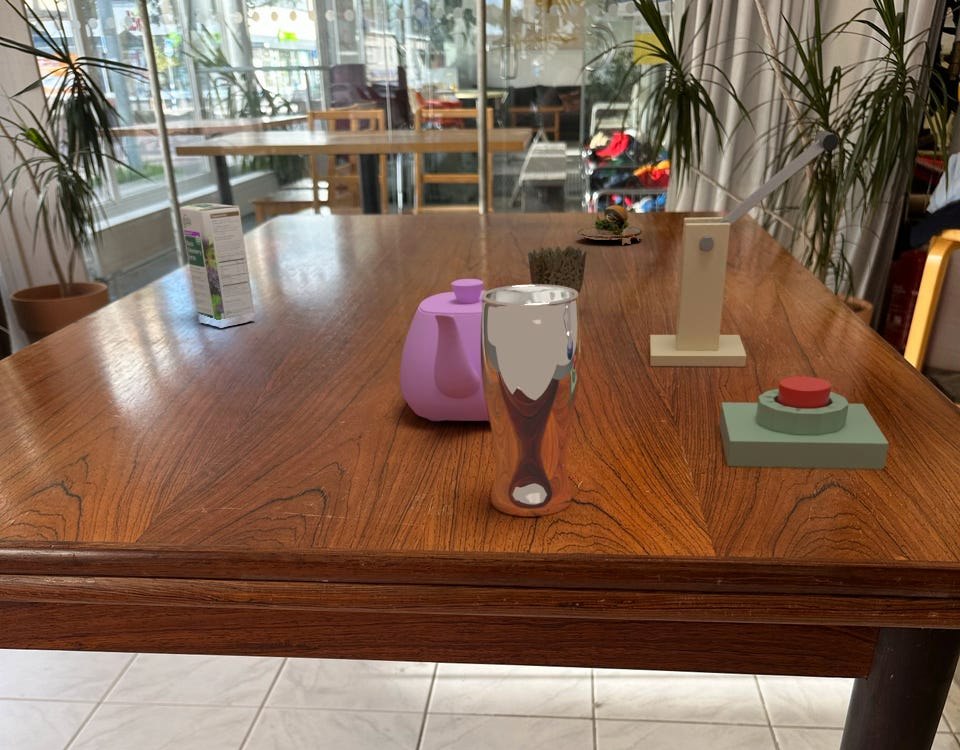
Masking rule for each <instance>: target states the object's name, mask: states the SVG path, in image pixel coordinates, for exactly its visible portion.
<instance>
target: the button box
mask: <svg viewBox="0 0 960 750" xmlns="http://www.w3.org/2000/svg"><path fill="white" fill-rule="evenodd" d="M778 391H779V388H775V389H769V390H766V391H765V392H763V393H762V394H759V395H758V397H757V402H732V401H731V402H727V401H726V402H725V401H724V402H721V404H720V413H719V423H718V428H719V433H720V436H721V441H722V447H723V451H724V457H725V461H726V466H727V467H743V468H745V467H748V468H790V469H791V468H797V469H845V470H847V469H848V470H850V469H851V470H884V469H885V466H886V460H887V456H888V450H889V446H890V443H889V441H888V440H887V438H886V436H885V435H884V433H883V432H882V431H881V428H880V427H879V425H878V424H877V422H876V421H875V419H874V418H873V416H872V414H871V413H870V412H869V410H868V408H867V407H866V405H865V404H864V403H849V402H848V400H847V399H846V397H845V396H843V395H841V394H838V393H836V392H833V391H831V390H830V397H829V403H828V406H827V407H822V408H816V409H799V408H793V407H787V406H783V405H781V404H779V403H777V399H778Z"/></svg>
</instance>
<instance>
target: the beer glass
mask: <svg viewBox="0 0 960 750" xmlns="http://www.w3.org/2000/svg"><path fill="white" fill-rule="evenodd" d="M485 291H486V292H484V293H483V294H482V296H481V298H482V310H481V330H480V362H481V377H482V384H483V390H484V397H485V402H486V406H487V411H488V416H489V421H490V422H489V425H490V430H491V436H492V441H493V447H494V455H495V456H494V457H495V461H494V463H495V467H494V477H493V484H492V489H491V496H490V501H491V505H492V506H493V508H495V509H496V510H497V511H499V512H501V513H502V514H505V515H509V516H514V517H523V518H534V517H535V518H537V517H544V516H550V515H554V514H557V513H560V512H562V511H564V510H565V509H567V508H568V507H569V506H570V505H571V503H572V498H573V497H572V491H571V486H570V480H569V474H568V461H567V460H568V458H567V456H568V443H569V438H570V431H571V427H572V422H573V416H574V411H575V406H576V401H577V395H578V389H579V382H580V376H581V375H580V372H581V351H582V350H581V349H582V348H581V321H580V320H581V319H580V307H579V305H580V304H579V296H580V293H578V292H577V291H576V290H575V289H572V288H569V287H565V286H558V285H546V284H532V283H531V284H529V283H528V284H514V285H507V286H500V287H495V288H491V289H489V290H485Z"/></svg>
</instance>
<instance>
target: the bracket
mask: <svg viewBox="0 0 960 750" xmlns="http://www.w3.org/2000/svg"><path fill="white" fill-rule="evenodd" d="M723 217H724V216H711V217H707V216H706V217H705V216H703V217H684V218H683V229H682V242H681V258H680V269H679V270H680V271H679V283H678V284H679V285H678V297H677V298H678V300H677V312H676V313H677V314H676V326H675V334H650V335H649V366H650V367H705V368H706V367H711V368H712V367H715V368H716V367H719V368H720V367H721V368H722V367H723V368H724V367H725V368H727V367H729V368H733V367H734V368H735V367H736V368H739V367H740V368H741V367H742V368H745V367H746V365H747V353H746V350H745V347H744V344H743V342H742V339H741V335H740V334H721V327H722V326H721V325H722V315H723V305H724V304H723V303H724V294H725V285H726V284H725V283H726V271H727V265H728V264H727V262H728V251H729V242H730V232H731V226H730V223H717V222H718V221H720V220H721V219H722V218H723ZM708 220H710V221H711V222H712V223H705V222H706V221H708Z"/></svg>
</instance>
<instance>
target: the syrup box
mask: <svg viewBox="0 0 960 750" xmlns="http://www.w3.org/2000/svg"><path fill="white" fill-rule="evenodd" d="M179 213H180V219H181V225H182V232H183V237H184V243H185V248H186V249H185V250H186V255H187V260H188V267H189V274H190V279H191V284H192V285H191V286H192V289H193V290H192V291H193V296H194V301H195V307H196V314H197V313H199V314H201V315H204V316H207V317H210V318H214V319H216V320H221V319H227V318H231V317H236V316H241V315H245V314H249V313H255V307H254V300H253V299H254V298H253V294H252V286H251V279H250V271H249V265H248V259H247V258H248V257H247V251H246V245H245V238H244V230H243V225H242V217H241V210H240V205H229V204H221V203H206V202H204V203H191V204H187V205H183V206H180V207H179Z"/></svg>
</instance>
